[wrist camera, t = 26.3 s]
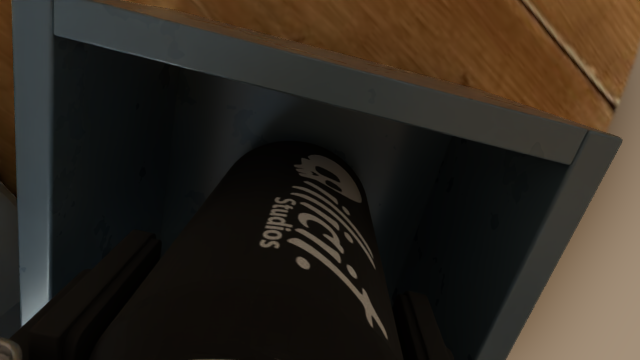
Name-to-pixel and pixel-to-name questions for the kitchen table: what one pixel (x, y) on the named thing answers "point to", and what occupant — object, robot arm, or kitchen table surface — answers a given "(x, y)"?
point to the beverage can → (266, 271)
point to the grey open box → (287, 125)
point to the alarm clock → (9, 265)
